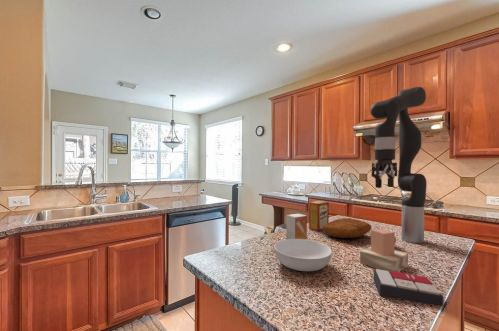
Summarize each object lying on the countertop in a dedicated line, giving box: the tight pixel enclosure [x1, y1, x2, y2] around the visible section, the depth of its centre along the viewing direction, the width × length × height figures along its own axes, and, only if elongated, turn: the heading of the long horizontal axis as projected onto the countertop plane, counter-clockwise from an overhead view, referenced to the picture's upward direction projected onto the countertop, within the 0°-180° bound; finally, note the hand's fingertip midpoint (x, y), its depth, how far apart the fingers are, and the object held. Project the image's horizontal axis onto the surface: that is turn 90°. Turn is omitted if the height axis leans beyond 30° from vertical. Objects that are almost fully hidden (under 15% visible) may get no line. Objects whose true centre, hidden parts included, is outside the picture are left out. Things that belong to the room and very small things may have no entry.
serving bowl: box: [273, 239, 333, 272], centre depth 89 cm, size 21×21×7 cm
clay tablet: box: [323, 217, 372, 239], centre depth 125 cm, size 22×17×8 cm
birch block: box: [359, 246, 409, 272], centre depth 90 cm, size 12×12×5 cm
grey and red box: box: [373, 268, 444, 307], centre depth 71 cm, size 11×4×15 cm
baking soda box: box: [308, 200, 330, 233], centre depth 140 cm, size 10×6×16 cm
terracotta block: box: [370, 228, 396, 256], centre depth 90 cm, size 6×6×8 cm
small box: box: [285, 213, 308, 240], centre depth 116 cm, size 8×6×13 cm
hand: (384, 187), depth 100 cm, fingers open, 8 cm apart
